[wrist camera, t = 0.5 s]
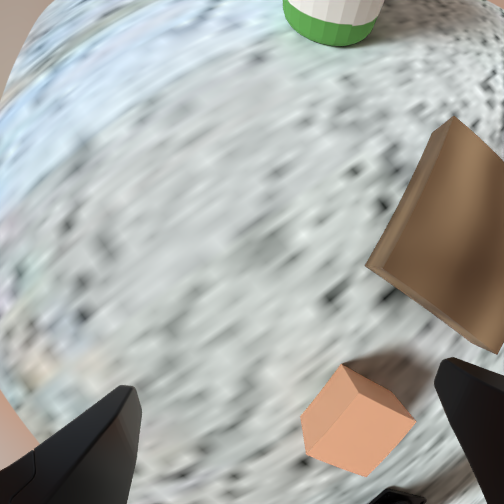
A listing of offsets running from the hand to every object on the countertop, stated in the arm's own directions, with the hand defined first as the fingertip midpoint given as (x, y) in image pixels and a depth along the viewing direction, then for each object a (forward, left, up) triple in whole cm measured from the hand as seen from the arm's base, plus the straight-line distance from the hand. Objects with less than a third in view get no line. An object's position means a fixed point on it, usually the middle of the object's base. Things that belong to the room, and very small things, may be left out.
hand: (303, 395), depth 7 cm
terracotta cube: (-8, +4, -13) cm, 15 cm away
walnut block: (-9, -11, -13) cm, 19 cm away
